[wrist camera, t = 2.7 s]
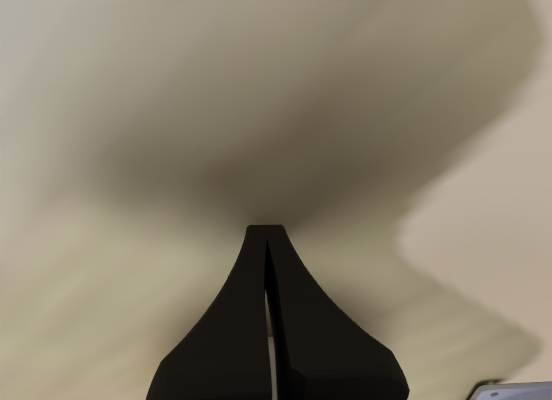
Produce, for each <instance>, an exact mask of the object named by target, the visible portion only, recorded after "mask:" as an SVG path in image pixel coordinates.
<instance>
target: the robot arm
mask: <svg viewBox="0 0 552 400" xmlns="http://www.w3.org/2000/svg"><path fill="white" fill-rule="evenodd" d="M265 291H266V294H267V301H268V307H269V314H270V321H271V327H272V334H273V341H274V350H275V368H276V387H277V400H407V399H408V396H409V391H410V390H409V387H408V384H407V381H406V378H405V376H404V373H403V371H402V369H401V367H400V365H399V363H398V362H397V360H396V358H395V356H394V354H393V353H392V351H391V350H389V349H388V348H387V347H385V346H384V345H382V344H381V343H380V342H378V341H377V340H376V339H374V338H373V337H371V336H370V335H369V334H368V333H366V332H365V331H364V330H363V329H362V328H360V327H359V326H358V325H357V324H356V323H355V322H354V321H352V320H351V319H350V318H349V317H348V316H347V315H346V314H345V313H344V312H343V311H342V310H341V309H340V308H339V307H338V306H337V305H336V304H335V303H334V302H333V301H332V300H331V299H330V298H329V297H328V295H327V294H326V293H325V292H324V291H323V290H322V288H321V287H320V286H319V285H318V283H317V282H316V281H315V280H314V278H313V277H312V275H311V274H310V273H309V271H308V270H307V268H306V267H305V265H304V264H303V262H302V261H301V259H300V258H299V256H298V254H297V253H296V251H295V249H294V247H293V246H292V244H291V242H290V240H289V238H288V236H287V233H286V231H285V228H284V227H283V226H282V225H249V226H248V227H247V228H246V234H245V239H244V242H243V245H242V248H241V250H240V253H239V255H238V258H237V260H236V262H235V264H234V267H233V268H232V270H231V272H230V274H229V276H228V278H227V280H226V282H225V284H224V285H223V287H222V289H221V290H220V292H219V294H218V295H217V297H216V298H215V300H214V301H213V303H212V304H211V305H210V307H209V308H208V310H207V311H206V312H205V314H204V315H203V316H202V318H201V319H200V320H199V321H198V322H197V324H196V325H195V326H194V327H193V328H192V330H191V331H190V332H189V333H188V334H187V335H186V337H185V338H184V339H183V340H182V341H181V342H180V343H179V344H178V345H177V346H176V347H175V348H174V349H173V350H172V351H171V352H170V353H169V354H168V355H167V356H166V357H165V358H164V359H163V360H162V361H161V363H160V365H159V367H158V369H157V371H156V373H155V375H154V378H153V380H152V383H151V385H150V388H149V391H148V394H147V397H146V400H272V376H271V365H270V355H269V344H268V333H267V321H266V308H265ZM470 400H552V382H533V383H513V384H494V385H483V386H480V387H478V388H477V389H476V391H475V392H474V394H473V395H472V397H471V398H470Z"/></svg>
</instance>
